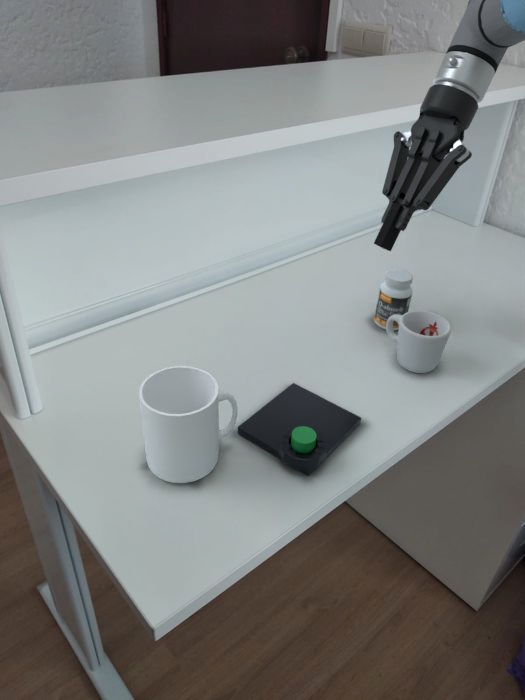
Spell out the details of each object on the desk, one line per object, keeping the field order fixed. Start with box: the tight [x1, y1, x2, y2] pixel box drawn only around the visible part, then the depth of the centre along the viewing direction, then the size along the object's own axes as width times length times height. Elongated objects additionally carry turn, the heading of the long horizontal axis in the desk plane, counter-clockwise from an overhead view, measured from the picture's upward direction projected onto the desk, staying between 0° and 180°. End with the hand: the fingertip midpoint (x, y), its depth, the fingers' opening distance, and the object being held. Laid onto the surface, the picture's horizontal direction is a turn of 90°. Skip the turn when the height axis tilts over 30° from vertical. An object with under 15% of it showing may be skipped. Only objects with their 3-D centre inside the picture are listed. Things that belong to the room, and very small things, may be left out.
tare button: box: [291, 426, 317, 453], centre depth 75 cm, size 3×3×2 cm
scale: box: [237, 382, 362, 477], centre depth 80 cm, size 12×14×3 cm
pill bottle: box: [373, 268, 414, 331], centre depth 102 cm, size 6×6×10 cm
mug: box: [138, 365, 238, 484], centre depth 73 cm, size 10×12×12 cm
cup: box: [385, 309, 452, 374], centre depth 94 cm, size 11×8×8 cm
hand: (382, 247), depth 87 cm, fingers closed
